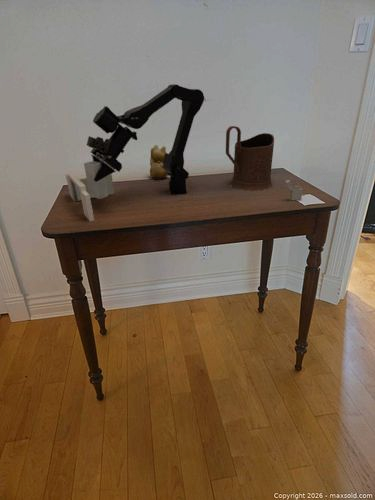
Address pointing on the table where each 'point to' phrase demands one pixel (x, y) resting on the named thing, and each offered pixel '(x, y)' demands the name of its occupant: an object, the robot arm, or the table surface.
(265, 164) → the brown pitcher
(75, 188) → the door
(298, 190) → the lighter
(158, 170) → the decorative figurine
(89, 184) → the skincare box
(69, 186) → the wall frame
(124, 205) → the table surface
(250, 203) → the table surface
